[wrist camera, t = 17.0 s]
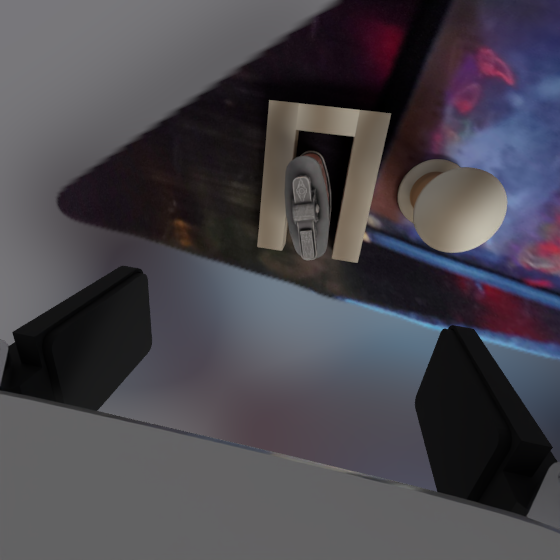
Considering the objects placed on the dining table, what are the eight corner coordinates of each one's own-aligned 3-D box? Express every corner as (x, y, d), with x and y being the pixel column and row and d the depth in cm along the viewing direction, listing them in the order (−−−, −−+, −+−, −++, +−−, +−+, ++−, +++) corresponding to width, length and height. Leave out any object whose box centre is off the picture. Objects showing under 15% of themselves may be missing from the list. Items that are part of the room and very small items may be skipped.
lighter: (292, 153, 31) (272, 162, 22) (327, 148, 30) (322, 155, 21) (301, 235, 34) (287, 272, 25) (334, 232, 33) (332, 269, 24)
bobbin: (476, 163, 29) (522, 174, 22) (453, 229, 31) (487, 258, 24) (407, 155, 29) (428, 162, 22) (390, 220, 32) (404, 245, 25)
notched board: (387, 114, 28) (391, 113, 26) (356, 254, 34) (357, 262, 32) (274, 102, 29) (269, 100, 27) (262, 239, 35) (257, 246, 33)
